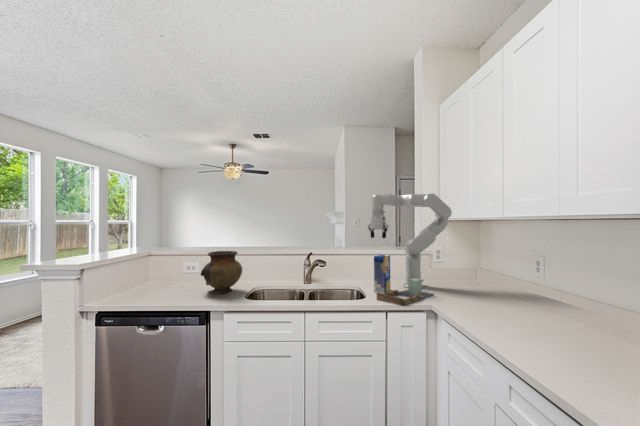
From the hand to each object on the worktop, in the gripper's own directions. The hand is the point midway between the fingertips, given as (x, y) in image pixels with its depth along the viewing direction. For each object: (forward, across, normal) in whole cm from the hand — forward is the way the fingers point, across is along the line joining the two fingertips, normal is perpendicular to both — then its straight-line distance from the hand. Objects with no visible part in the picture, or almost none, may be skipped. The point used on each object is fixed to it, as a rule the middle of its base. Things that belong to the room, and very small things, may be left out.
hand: (378, 237), depth 207 cm
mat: (+32, -30, +5) cm, 45 cm away
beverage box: (+32, -12, +12) cm, 37 cm away
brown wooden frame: (+32, -30, +22) cm, 50 cm away
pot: (+32, +55, +87) cm, 108 cm away
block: (+32, -30, +5) cm, 44 cm away
